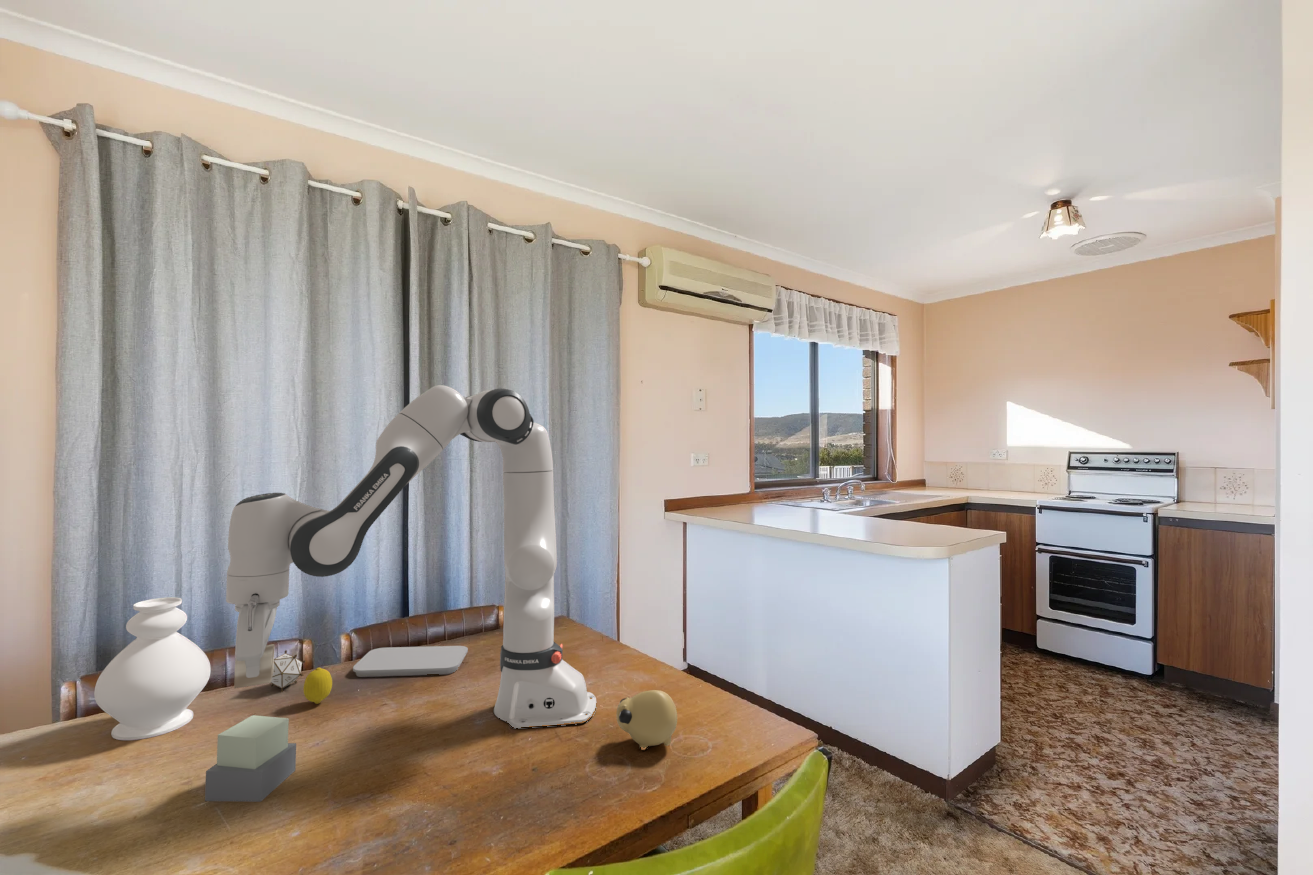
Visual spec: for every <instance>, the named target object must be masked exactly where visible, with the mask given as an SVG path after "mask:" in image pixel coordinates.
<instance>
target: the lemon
mask: <svg viewBox="0 0 1313 875" xmlns="http://www.w3.org/2000/svg"><path fill="white" fill-rule="evenodd" d="M332 688H333V678H332V675H331V673H330V671H328V670H327V669H325V668H321V667H316V669H314V670H312V671H310V672H309V673H308V674H307V676H306V678H305V679H304V682H303V696H304V697H305V699H306V700H307V701H309V702H312V703H314V704H316V705H318V704H320V703H321V701H324V700H325V699H326V698H327V697H328V696H329V695H330V693H331V691H332Z"/></svg>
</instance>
